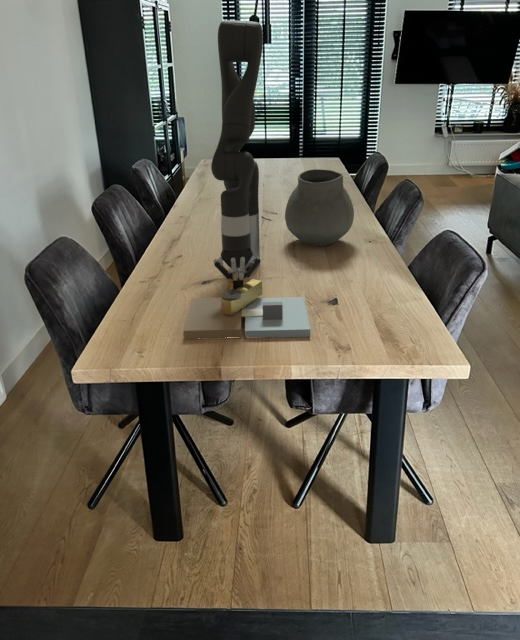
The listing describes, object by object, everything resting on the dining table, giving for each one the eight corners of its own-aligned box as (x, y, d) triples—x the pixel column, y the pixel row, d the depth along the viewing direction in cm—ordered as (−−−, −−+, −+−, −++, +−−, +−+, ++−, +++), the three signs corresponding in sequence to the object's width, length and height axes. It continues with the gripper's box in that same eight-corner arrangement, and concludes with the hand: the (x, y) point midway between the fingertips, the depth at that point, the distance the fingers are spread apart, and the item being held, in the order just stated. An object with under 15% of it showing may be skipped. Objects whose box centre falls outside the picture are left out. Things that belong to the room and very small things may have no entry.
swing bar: (234, 316, 145) (233, 298, 143) (218, 312, 147) (217, 294, 145) (265, 295, 157) (265, 278, 154) (249, 291, 159) (249, 275, 157)
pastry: (224, 287, 171) (224, 275, 169) (247, 285, 172) (246, 273, 170) (229, 299, 162) (228, 286, 161) (252, 297, 164) (252, 285, 162)
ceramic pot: (273, 248, 202) (272, 177, 192) (301, 229, 222) (301, 164, 211) (338, 257, 192) (341, 182, 181) (361, 237, 211) (365, 169, 200)
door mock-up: (192, 306, 158) (190, 286, 155) (303, 303, 158) (304, 283, 155) (184, 339, 140) (182, 317, 137) (310, 336, 140) (310, 314, 137)
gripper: (258, 224, 152) (259, 284, 160) (209, 227, 150) (212, 288, 158) (263, 233, 145) (264, 294, 153) (211, 236, 143) (215, 299, 151)
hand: (238, 291), depth 156 cm, fingers closed
